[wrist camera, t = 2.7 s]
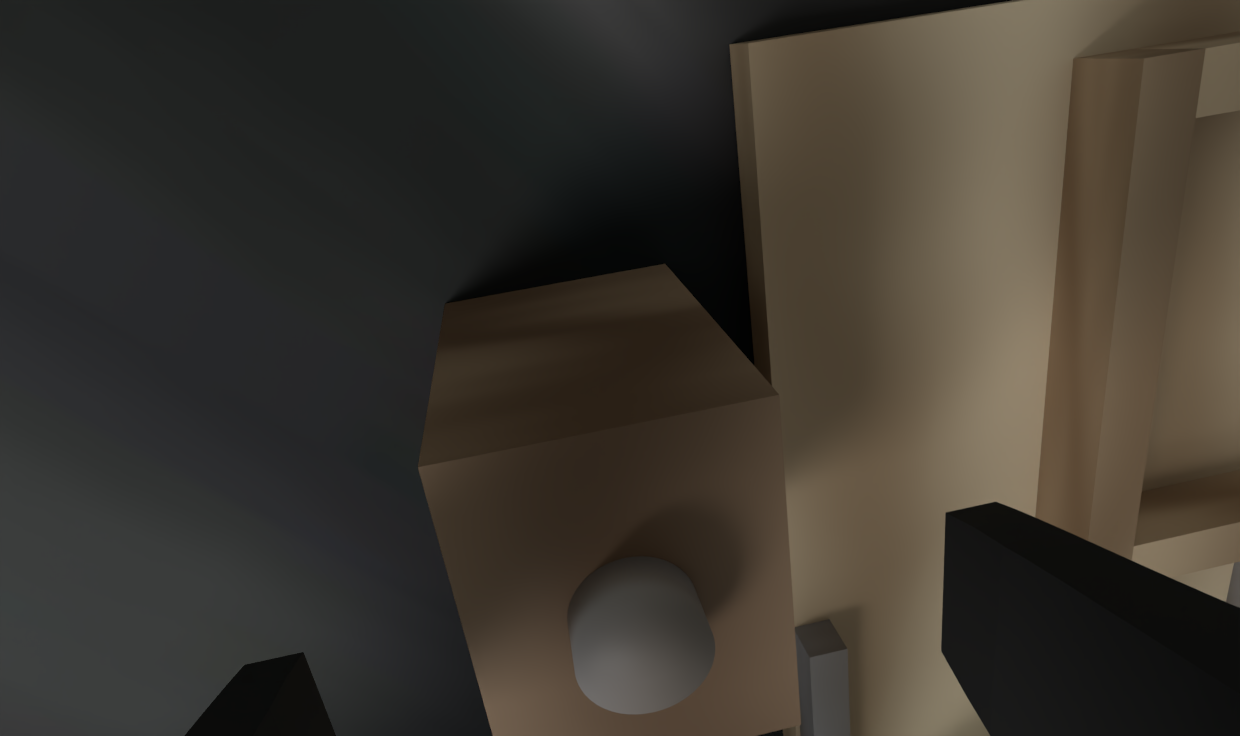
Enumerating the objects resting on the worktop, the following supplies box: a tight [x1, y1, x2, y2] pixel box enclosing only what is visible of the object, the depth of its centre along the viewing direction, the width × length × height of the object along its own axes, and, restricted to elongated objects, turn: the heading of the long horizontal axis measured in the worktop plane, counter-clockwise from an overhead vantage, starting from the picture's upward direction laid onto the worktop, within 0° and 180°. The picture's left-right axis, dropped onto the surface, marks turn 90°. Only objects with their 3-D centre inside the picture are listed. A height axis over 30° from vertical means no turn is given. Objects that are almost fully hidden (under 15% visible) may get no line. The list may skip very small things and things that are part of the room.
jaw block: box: [418, 264, 801, 736], centre depth 12 cm, size 4×5×7 cm
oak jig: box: [729, 0, 1240, 736], centre depth 17 cm, size 15×22×2 cm
